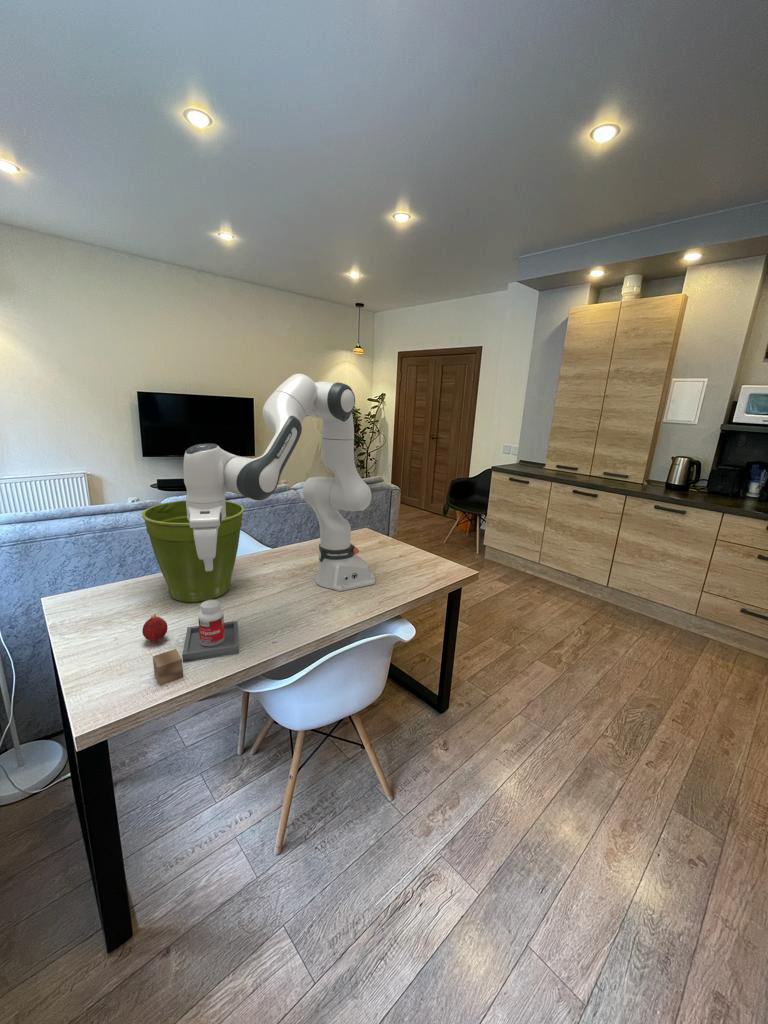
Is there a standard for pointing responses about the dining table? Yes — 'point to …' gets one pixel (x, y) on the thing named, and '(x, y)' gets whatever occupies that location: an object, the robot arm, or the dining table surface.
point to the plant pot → (192, 551)
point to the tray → (198, 651)
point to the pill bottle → (211, 623)
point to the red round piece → (154, 628)
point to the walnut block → (168, 667)
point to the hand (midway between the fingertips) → (210, 562)
